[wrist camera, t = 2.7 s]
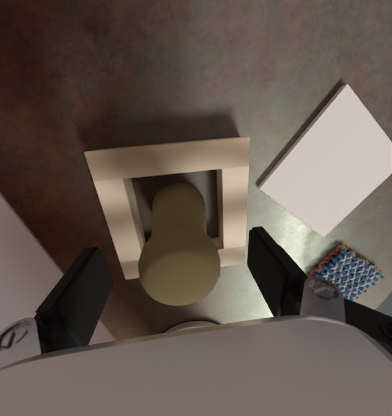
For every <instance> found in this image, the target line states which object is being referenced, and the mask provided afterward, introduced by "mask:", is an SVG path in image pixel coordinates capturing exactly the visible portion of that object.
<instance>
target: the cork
mask: <svg viewBox="0 0 392 416" xmlns="http://www.w3.org/2000/svg"><path fill="white" fill-rule="evenodd" d="M220 265H221V260H220V256H219V253H218V250H217V247H216V245H215V243H214V242H213V241H212V240H211V238H210V237H209V236H208V235H207V231H206V212H205V202H204V199H203V196H202V195H201V193H200V192H199V191H198V190H197V189H196V188H194V187H193V186H192V185H189V184H185V183H172V184H169V185H166V186H164V187H163V188H162V189H160V190H159V191H158V192H157V194H156V195H155V197H154V200H153V203H152V236H151V237H150V238H149V240H148V241H147V242H146V244H145V245H144V246H143V248H142V251H141V254H140V258H139V262H138V272H139V280H140V282H141V284H142V285H143V287H144V289H145V291H146V292H147V294H148V295H149V296H151V297H152V298H153V299H154V300H156V301H158V302H161V303H163V304H167V305H173V306H180V305H188V304H191V303H195V302H197V301H199V300H201V299H203V298H204V297H206V296H207V295H208V294H209V293H210V292H211V291H212V290H213V288H214V286H215V284H216V282H217V280H218V278H219V276H220Z"/></svg>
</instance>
